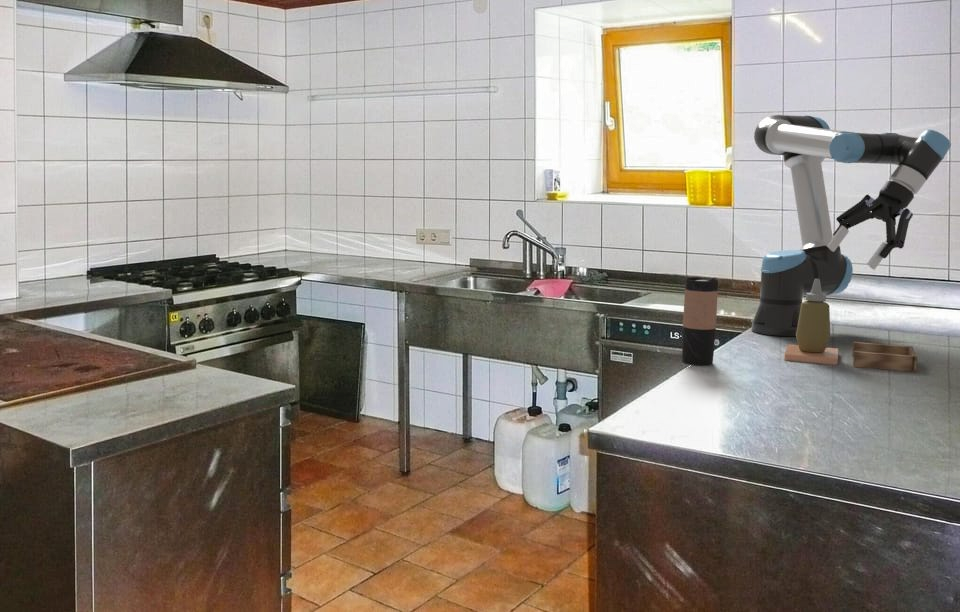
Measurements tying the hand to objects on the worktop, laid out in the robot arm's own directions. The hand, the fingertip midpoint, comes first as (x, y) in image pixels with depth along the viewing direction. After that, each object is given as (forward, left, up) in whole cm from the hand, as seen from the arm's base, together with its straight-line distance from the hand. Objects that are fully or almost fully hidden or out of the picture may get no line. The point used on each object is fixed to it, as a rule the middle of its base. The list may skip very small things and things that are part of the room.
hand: (849, 257), depth 226 cm
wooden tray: (+9, -10, -24) cm, 28 cm away
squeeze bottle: (-7, -10, -23) cm, 26 cm away
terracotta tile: (-7, -10, -24) cm, 27 cm away
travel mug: (-32, -30, -25) cm, 50 cm away
